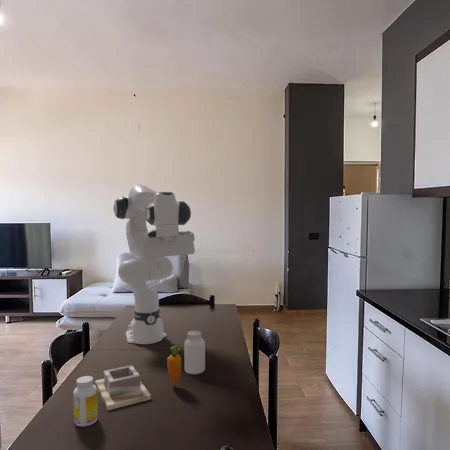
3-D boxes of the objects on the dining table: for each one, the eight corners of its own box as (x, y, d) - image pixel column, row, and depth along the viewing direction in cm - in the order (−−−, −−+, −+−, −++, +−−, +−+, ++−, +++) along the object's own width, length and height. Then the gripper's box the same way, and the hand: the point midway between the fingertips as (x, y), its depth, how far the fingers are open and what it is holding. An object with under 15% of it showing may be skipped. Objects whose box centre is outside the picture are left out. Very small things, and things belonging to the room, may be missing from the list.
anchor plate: (95, 384, 140) (94, 367, 139) (133, 376, 146) (133, 359, 146) (107, 410, 122) (107, 390, 122) (150, 399, 129) (150, 380, 129)
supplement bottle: (100, 415, 120) (99, 374, 119) (94, 427, 113) (93, 384, 112) (78, 415, 119) (77, 374, 119) (70, 428, 113) (69, 384, 112)
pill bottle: (186, 376, 146) (186, 336, 145) (183, 367, 154) (182, 330, 153) (207, 373, 148) (206, 334, 147) (202, 365, 156) (202, 328, 155)
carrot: (174, 382, 141) (174, 341, 140) (184, 386, 138) (184, 345, 137) (164, 387, 137) (163, 345, 136) (174, 392, 134) (173, 349, 133)
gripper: (193, 230, 158) (195, 265, 157) (141, 234, 154) (143, 269, 153) (194, 230, 151) (197, 266, 151) (141, 234, 148) (143, 270, 147)
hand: (170, 267), depth 152 cm, fingers open, 8 cm apart
